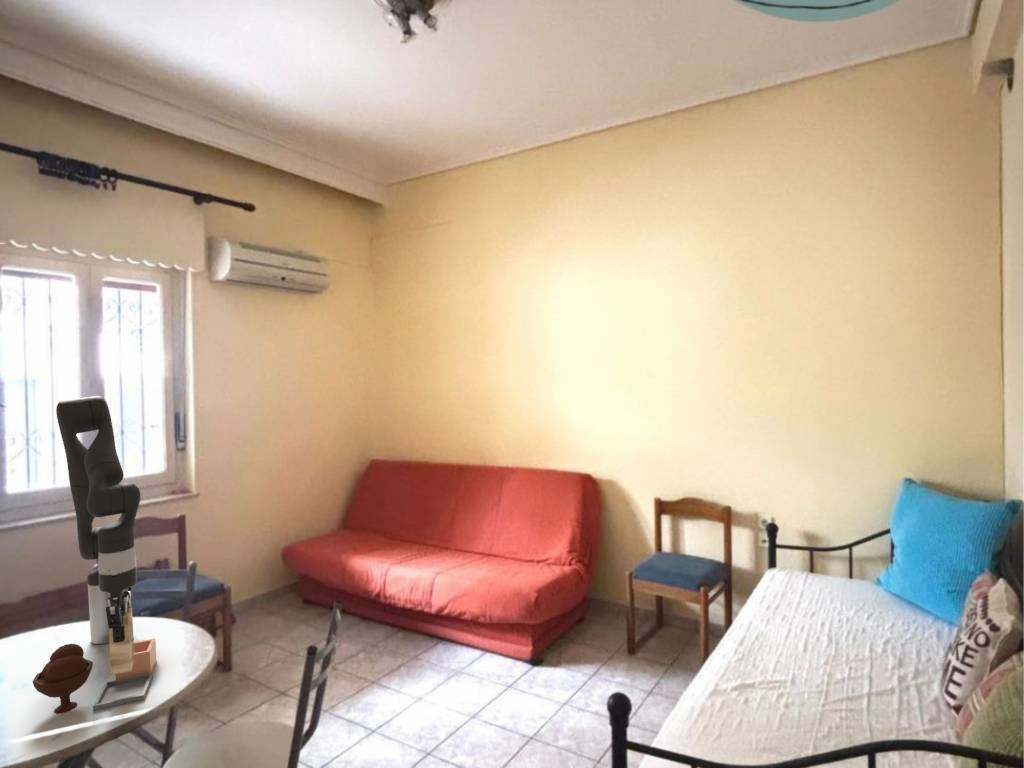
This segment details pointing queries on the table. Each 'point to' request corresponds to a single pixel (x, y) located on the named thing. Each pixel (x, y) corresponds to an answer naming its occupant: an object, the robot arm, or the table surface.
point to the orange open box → (142, 659)
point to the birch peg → (123, 648)
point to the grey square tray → (123, 691)
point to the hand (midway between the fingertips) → (121, 637)
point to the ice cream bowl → (63, 675)
